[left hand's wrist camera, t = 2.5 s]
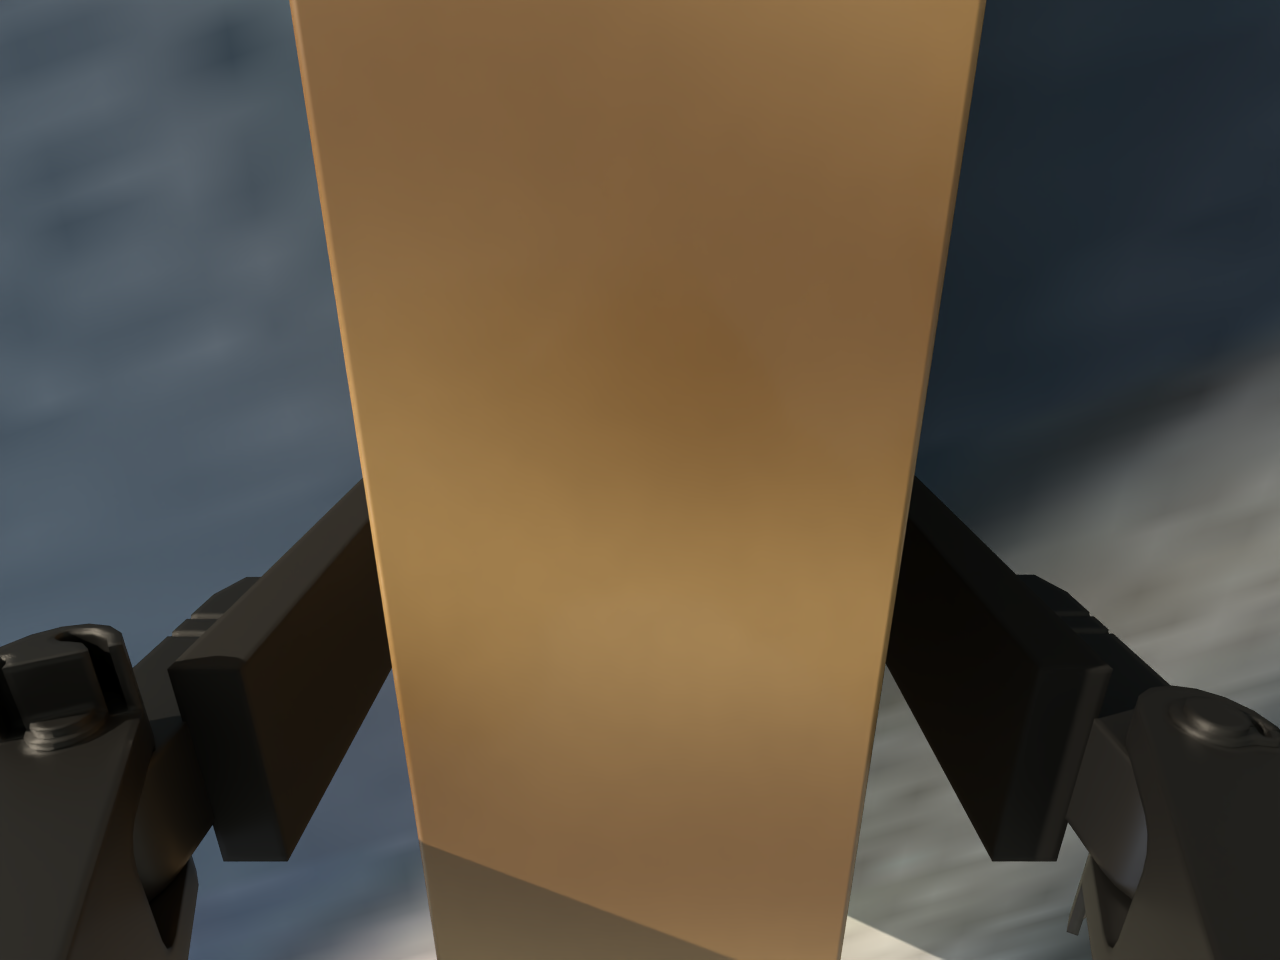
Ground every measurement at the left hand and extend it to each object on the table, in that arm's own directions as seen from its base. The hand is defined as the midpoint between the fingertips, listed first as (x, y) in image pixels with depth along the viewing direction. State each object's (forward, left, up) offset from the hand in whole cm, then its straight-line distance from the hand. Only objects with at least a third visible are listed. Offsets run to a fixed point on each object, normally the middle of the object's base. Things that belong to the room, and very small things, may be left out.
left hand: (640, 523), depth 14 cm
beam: (+8, +26, -1) cm, 28 cm away
